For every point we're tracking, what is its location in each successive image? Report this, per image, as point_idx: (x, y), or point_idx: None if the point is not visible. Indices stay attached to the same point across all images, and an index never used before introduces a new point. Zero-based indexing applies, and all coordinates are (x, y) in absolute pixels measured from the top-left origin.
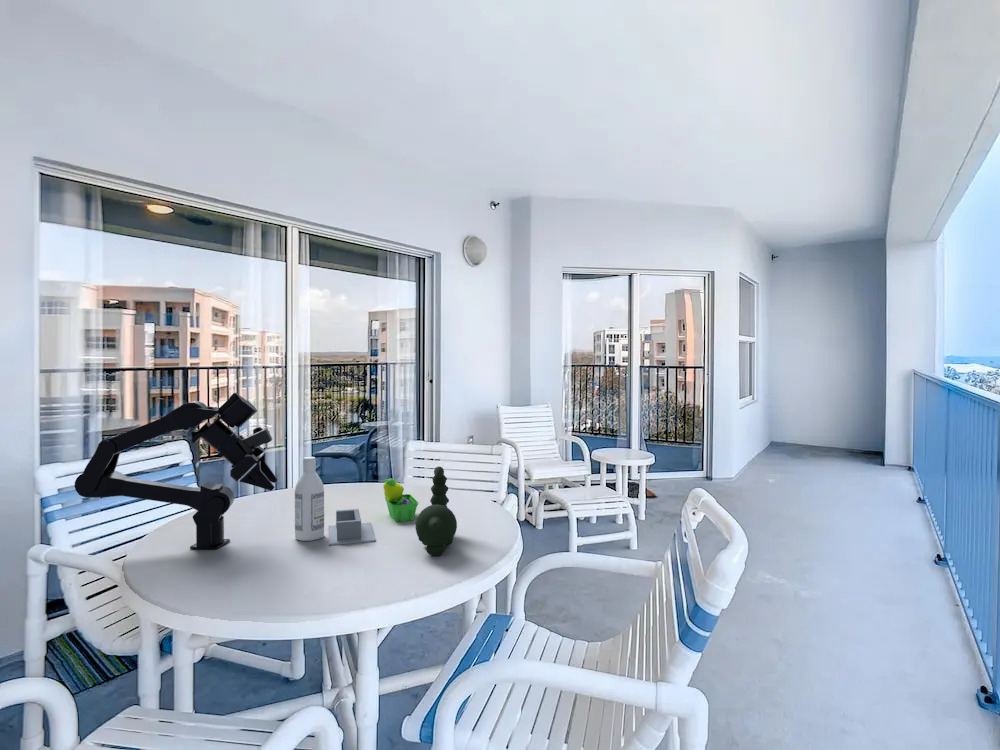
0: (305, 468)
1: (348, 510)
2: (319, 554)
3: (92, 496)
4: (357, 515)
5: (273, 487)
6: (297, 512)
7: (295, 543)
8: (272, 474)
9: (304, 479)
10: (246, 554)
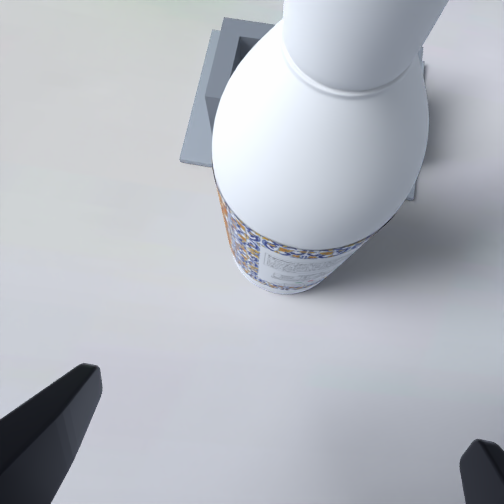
0: (420, 39)
1: (230, 54)
2: (500, 244)
3: None
4: None
5: (498, 451)
6: (334, 267)
7: (338, 301)
8: (47, 432)
9: (411, 136)
10: (411, 500)
